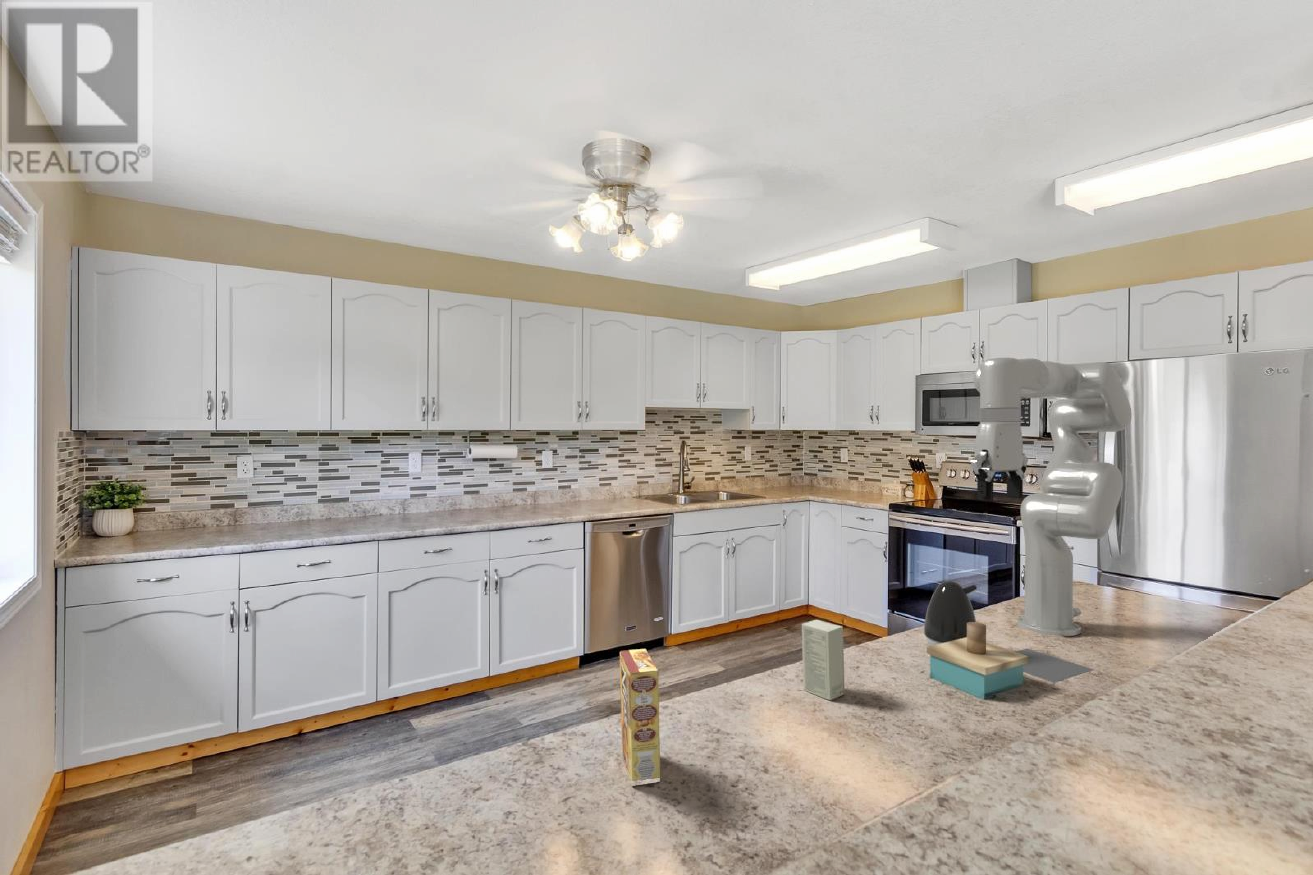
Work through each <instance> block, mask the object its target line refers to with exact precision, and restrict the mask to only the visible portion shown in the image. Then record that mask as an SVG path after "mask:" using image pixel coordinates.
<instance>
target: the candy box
mask: <svg viewBox="0 0 1313 875" xmlns="http://www.w3.org/2000/svg"><path fill="white" fill-rule="evenodd" d="M619 680H620V681H619V684H620V686H619V687H620V688H619V689H620V691H619V692H620V725H621V734H620V735H621V755H622V754H623V756H622V758H623V757H624V759H623V761H624V760H625V763H624V765H625V764H626V766H625V768H626V767H627V769H626V771H627V770H628V772H627V774H628V773H629V775H630V778H631V780H632V781H637V780H646V779H655V778H660V779H661V755H660V754H661V748H660V743H661V742H660V693H659V692H660V691H659V689H660V686H659V685H660V684H659V670H658V667H657V666H656V664H655V662H654V661H653V659H652V658H651V655H650V654H649V652H648V651H647V649H646V648H640V649H637V648H636V649H628V650H621V651H619Z"/></svg>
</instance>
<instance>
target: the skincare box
mask: <svg viewBox="0 0 1313 875" xmlns="http://www.w3.org/2000/svg"><path fill="white" fill-rule="evenodd" d="M843 628H844V627H843V625H838V624H834V623H831V622H826V621H823V620H820V619H813V620H810V621H807V622H803V623H801V644H802V645H801V647H802V648H801V650H802V651H801V652H802V677H803V680H802V681H803V686H802V687H803V690H804V691H806V692H808V693H810V694H813V695H815V696H818V697H820V698H823V699H826V700H827V701H832V700H835V699H837V698H839V697H842V696H843V695H845V694H846V691H845V689H846V688H845V656H844V629H843Z"/></svg>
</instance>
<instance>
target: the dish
mask: <svg viewBox="0 0 1313 875" xmlns="http://www.w3.org/2000/svg"><path fill="white" fill-rule="evenodd" d="M929 655H930V654H929ZM929 657H930V658H929V660H930V662H929V663H930V664H929V665H930V668H929V671H930V672H929V673H930V678H931V679H934V680H936V681H938V682H941V683H944V684H945V685H948V686H951V687H953V688H955V689H958V690H960V691H962V692H965V693H967V694H969V695H973V696H975V697H976V698H980V699H982V700H987V699H990V698H993V697H995V696H996V694H999V693H1003V692H1005V691H1009V690H1012V689H1015V688H1018V687H1021V686H1024V672H1023V664H1022V665H1019V666H1016V667H1012V668H1009V669H1005V670H1002V671H999V672H995V673H992V674H988V675H983V674H981V673H978V672H975V671H973V670H970V669H967V668H965V667H962V666H959V665H957V664H954V663H951V662H949V661H946V660H943V659H941V658H938V657H935V656H933V655H930V656H929Z"/></svg>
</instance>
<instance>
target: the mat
mask: <svg viewBox="0 0 1313 875" xmlns="http://www.w3.org/2000/svg"><path fill="white" fill-rule="evenodd" d="M1015 652H1017V653H1020V654H1023V655H1026V656H1028V663H1026V664H1023V673H1025V674H1028V675H1031V676H1033V677H1037V678H1039V679H1042V680H1045V681H1049V682H1051V683H1057V682H1060V681H1064V680H1067V679H1070V678H1072V677H1075V676H1078V675H1081V674H1084V673H1088V672H1091V671H1094V668H1090V667H1087V666H1085V665H1081V664H1079V663H1075V662H1071V661H1068V660H1066V659H1062V658H1059V657H1055V656H1053V655H1050V654H1046V653H1043V652H1041V651H1040V652H1039V651H1036V650H1033V649H1029V648H1024V649H1020V650H1017V651H1015Z"/></svg>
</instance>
